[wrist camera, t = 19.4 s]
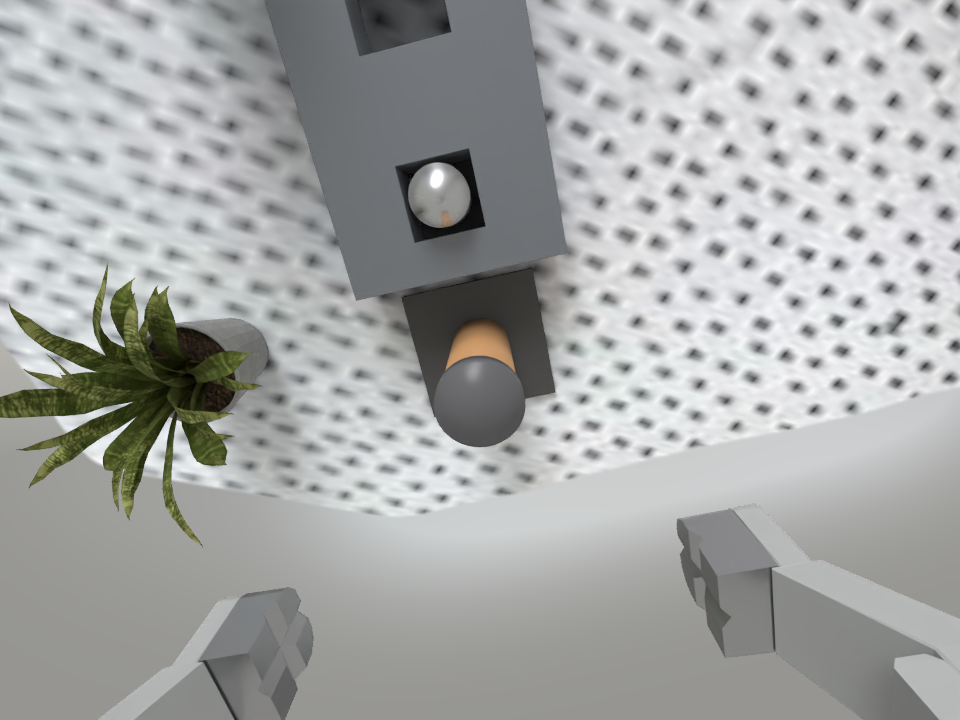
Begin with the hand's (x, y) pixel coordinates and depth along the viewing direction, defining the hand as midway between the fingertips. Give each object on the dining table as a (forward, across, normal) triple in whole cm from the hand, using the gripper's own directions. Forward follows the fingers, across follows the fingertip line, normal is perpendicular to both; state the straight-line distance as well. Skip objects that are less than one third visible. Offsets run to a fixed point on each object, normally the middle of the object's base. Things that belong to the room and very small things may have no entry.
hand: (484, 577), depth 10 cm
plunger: (+26, +1, -9) cm, 28 cm away
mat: (+27, +1, +2) cm, 27 cm away
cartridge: (+26, +1, +2) cm, 26 cm away
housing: (+27, +1, -15) cm, 31 cm away
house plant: (+27, +19, -1) cm, 33 cm away
